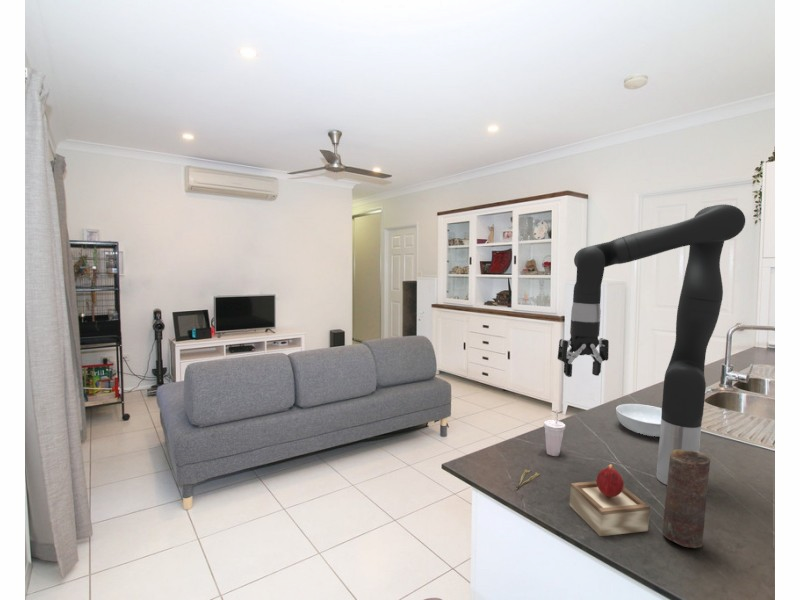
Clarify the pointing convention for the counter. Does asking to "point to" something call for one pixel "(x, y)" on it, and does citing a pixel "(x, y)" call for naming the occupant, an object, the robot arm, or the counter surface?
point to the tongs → (526, 480)
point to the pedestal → (609, 510)
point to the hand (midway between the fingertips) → (581, 375)
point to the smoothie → (554, 435)
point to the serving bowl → (640, 418)
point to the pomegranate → (609, 482)
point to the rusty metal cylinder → (686, 497)
